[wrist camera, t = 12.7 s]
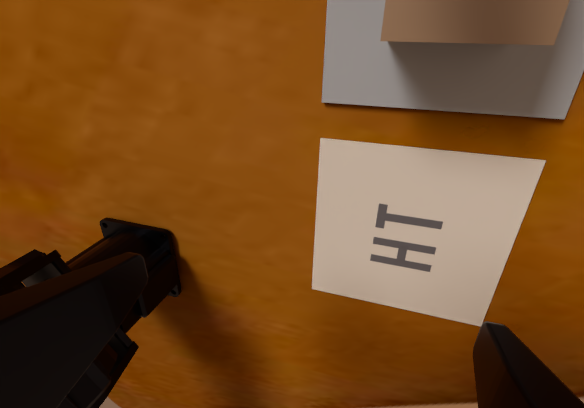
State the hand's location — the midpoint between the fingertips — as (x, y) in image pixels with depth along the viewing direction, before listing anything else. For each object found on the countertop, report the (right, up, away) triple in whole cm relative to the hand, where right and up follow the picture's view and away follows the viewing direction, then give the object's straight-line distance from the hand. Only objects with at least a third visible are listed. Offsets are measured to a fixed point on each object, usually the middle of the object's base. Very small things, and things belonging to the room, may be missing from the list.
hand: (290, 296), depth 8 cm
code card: (+7, 0, +11) cm, 13 cm away
